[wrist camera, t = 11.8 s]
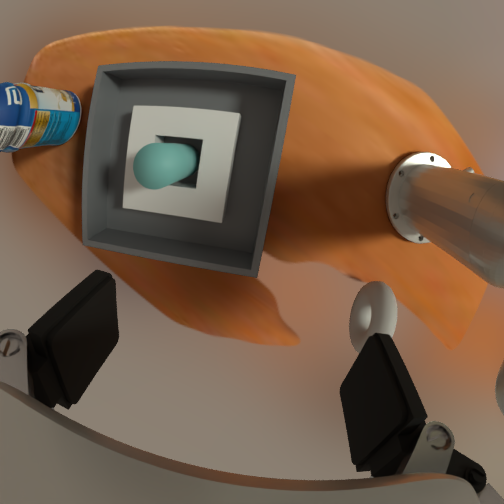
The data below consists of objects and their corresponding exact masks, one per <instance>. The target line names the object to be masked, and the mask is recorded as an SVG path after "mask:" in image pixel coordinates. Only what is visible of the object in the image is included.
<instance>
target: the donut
mask: <svg viewBox="0 0 504 504" xmlns="http://www.w3.org/2000/svg"><path fill="white" fill-rule="evenodd" d="M396 322H397V303H396V298H395V295H394V293H393V291H392V289H391V288H390V287H389V286H388V285H386V284H385V283H384V282H381V281H372V282H369V283H368V284H366V285H365V286H363V287H362V289H361V290H360V291H359V292H358V294H357V296H356V298H355V300H354V303H353V306H352V310H351V315H350V323H349V331H350V339H351V343H352V345H353V346H354V348H355V350H356V351H357V352H359V353H360V352H361V350H362V348H363V346H364V344H365V342H366V340H367V339H368V337H369V336H372V335H373V334H374V333H383V334H389V335H390V336H391V338H392V336H393V333H394V331H395V327H396Z"/></svg>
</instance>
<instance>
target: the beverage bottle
mask: <svg viewBox="0 0 504 504" xmlns="http://www.w3.org/2000/svg"><path fill="white" fill-rule="evenodd" d="M81 113H82V109H81V103H80V100H79V98H78V97H77V95H76V94H74V93H73V92H71V91H66V90H57V89H51V88H45V87H39V86H32V85H30V84H27V83H16V84H12V83H9V82H5V83H1V84H0V152H1V151H2V152H15V151H17V150H19V149H22V148H29V147H36V146H45V145H61V144H63V143H65V142H67V141H68V140H69V139H70V138H71V137H72V136H73V135H74V134H75V132H76V130H77V128H78V126H79V123H80V120H81Z"/></svg>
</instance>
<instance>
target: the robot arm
mask: <svg viewBox="0 0 504 504" xmlns="http://www.w3.org/2000/svg"><path fill="white" fill-rule="evenodd" d="M399 172H400V174H399ZM386 208H387V213H388V216H389V219H390V221H391V223H392V225H393V227H394V228H395V229H396V231H397V232H398V233H399V234H400V235H402V236H403V237H404V238H406V239H407V240H409V241H412V242H414V243H420V244H422V243H429V242H432V243H433V244H435V245H436V246H438V247H439V248H441V249H442V250H444V251H445V252H447V253H448V254H449V255H451V256H452V257H454V258H455V259H456V260H458V261H459V262H461V263H462V264H463V265H465V266H466V267H467V268H469V269H470V270H471V271H473V272H474V273H475V274H476V275H478V276H479V277H481V278H482V279H483V280H485V281H486V282H487V283H489V284H491V285H493V286H495V287H499V288H504V181H502V180H498V179H495V178H491V177H487V176H483V175H479V174H475V173H474V171H473V169H472V168H471V167H468V168H466V169H465V170H463V171H462V170H458V169H453V168H452V167H451V166H450V165H449V164H448V162H447V161H446V160H445V159H443V158H442V157H441V156H439V155H436V154H434V153H429V152H417V153H413V154H411V155H408V156H407V157H405V158H404V159H403V160H401V161H400V162H399V164H398V165H397V166H396V167H395V169H394V170H393V172H392V174H391V176H390V179H389V182H388V185H387V190H386ZM394 213H395V215H394ZM393 215H394V216H393ZM28 332H29V334H28V335H27V336H26V337H25V335H24V334H23V333H22V332H20V331H18V330H14V329H8V330H3V331H1V332H0V504H504V499H503V498H502V497H501V496H500V495H499V494H498V493H497V492H496V490H495V489H494V488H493V487H492V486H491V485H490V484H489V483H488V484H486V480H487V479H486V473H485V471H484V469H483V468H482V466H480V465H479V464H478V463H476V462H474V461H473V460H471V459H469V458H468V457H466V456H465V455H463V454H461V453H459V452H458V451H457V450H455V449H453V448H454V442H455V440H454V436H453V434H452V432H451V430H450V429H449V428H448V427H447V426H446V425H445V424H443V423H441V422H436V421H432V422H429V423H427V424H426V423H425V419H426V418H427V414H426V411H425V409H424V406H423V404H422V402H421V399H420V397H419V395H418V392H417V390H416V388H415V386H414V383H413V381H412V379H411V377H410V375H409V373H408V370H407V368H406V366H405V364H404V362H403V360H402V358H401V356H400V354H399V352H398V350H397V348H396V346H395V344H394V342H393V340H392V338H391V336H390V335H389V334H383V333H374V334H373V335H372V336H369V337H368V339H367V340H366V342H365V344H364V346H363V348H362V350H361V352H360V353H359V355H358V357H357V359H356V361H355V362H354V364H353V366H352V367H351V369H350V371H349V373H348V374H347V376H346V378H345V379H344V381H343V383H342V385H341V387H340V397H341V402H342V407H343V412H344V418H345V423H346V429H347V435H348V441H349V447H350V453H351V460H352V463H353V464H354V465H356V470H357V472H362V471H370V470H371V477H370V478H364V479H348V480H289V479H275V478H265V477H256V476H247V475H240V474H234V473H228V472H223V471H217V470H213V469H207V468H203V467H199V466H194V465H190V464H186V463H182V462H179V461H175V460H172V459H168V458H165V457H162V456H158V455H155V454H152V453H149V452H146V451H143V450H140V449H137V448H134V447H132V446H129V445H127V444H124V443H122V442H119V441H116V440H114V439H112V438H110V437H107V436H105V435H103V434H100V433H98V432H96V431H94V430H92V429H90V428H87V427H85V426H83V425H81V424H79V423H77V422H75V421H73V420H71V419H69V418H68V417H66V416H64V415H62V414H60V413H58V412H56V411H55V410H54V407H55V405H56V404H59V405H61V406H63V407H65V408H66V409H69V408H70V407H71V405H72V404H76V403H77V402H78V401H79V399H80V398H81V396H82V395H83V393H84V392H85V390H86V389H87V387H88V385H89V384H90V382H91V381H92V379H93V378H94V376H95V375H96V373H97V372H98V370H99V369H100V367H101V366H102V365H103V363H104V362H105V360H106V359H107V357H108V356H109V354H110V353H111V351H112V350H113V349H114V347H115V346H116V344H117V342H118V339H119V330H118V319H117V304H116V283H115V280H114V279H113V278H112V275H111V274H110V273H107V272H104V271H100V270H95V271H94V272H93V273H91V274H90V275H89V276H88V277H87V278H85V279H84V280H83V281H82V282H81V283H79V284H78V285H77V286H76V287H75V288H73V289H72V290H71V291H70V292H69V293H68V294H66V295H65V296H64V297H63V298H62V299H61V300H60V301H59V302H57V303H56V304H55V305H54V306H53V307H52V308H51V309H49V310H48V311H47V312H46V313H45V314H44V315H43V316H42V317H41V318H40V319H39V320H37V321H36V323H34V324H33V325H32V326H31V327H30V328H29V329H28ZM495 387H496V388H495V392H496V400H497V403H498V406H499V408H500V410H501V412H502V413H503V415H504V361H503V363H502V365H501V367H500V370H499V373H498V376H497V380H496V386H495Z"/></svg>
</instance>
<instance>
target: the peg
mask: <svg viewBox="0 0 504 504" xmlns="http://www.w3.org/2000/svg"><path fill="white" fill-rule="evenodd" d="M199 163H200V154H199V152H198V150H197V149H196V148H195V147H194V146H192V145H189V144H178V143H150V144H147V145H145V146H144V147H142V148H141V149H140V150H139V151H138V153H137V154H136V156H135V158H134V162H133V171H134V175H135V178H136V179H137V181H138V182H139V183H140V184H141V185H142V186H143V187H145V188H148V189H152V190H156V189H161V188H163V187H166V186H168V185H170V184H172V183H175V182H177V181H179V180H182V179H184V178H186V177H189V176H191V175H193V174H194V173H195V172H196V171H197V170H198V168H199Z"/></svg>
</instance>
